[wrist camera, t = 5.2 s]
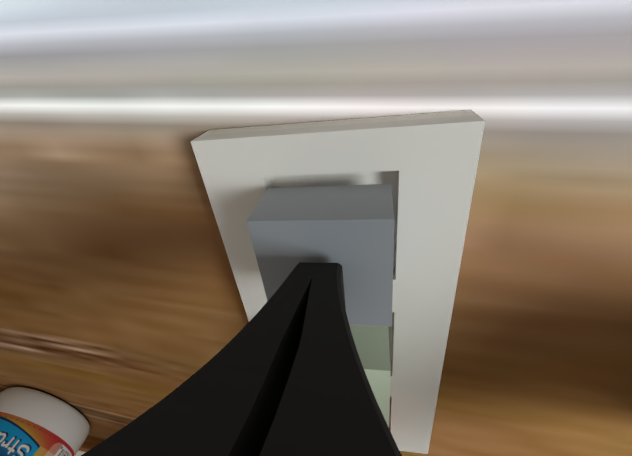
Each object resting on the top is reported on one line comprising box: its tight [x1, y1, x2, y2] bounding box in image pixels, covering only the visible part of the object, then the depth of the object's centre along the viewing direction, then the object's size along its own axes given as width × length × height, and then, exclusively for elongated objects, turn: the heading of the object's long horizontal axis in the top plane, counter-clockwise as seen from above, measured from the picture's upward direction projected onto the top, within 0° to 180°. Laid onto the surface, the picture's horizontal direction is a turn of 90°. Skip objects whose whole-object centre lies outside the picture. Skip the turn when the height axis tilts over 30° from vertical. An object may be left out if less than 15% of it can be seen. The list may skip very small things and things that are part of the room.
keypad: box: [190, 110, 485, 454], centre depth 17 cm, size 22×10×2 cm, turn 6°
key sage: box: [349, 324, 390, 427], centre depth 15 cm, size 4×4×2 cm
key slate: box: [247, 184, 395, 327], centre depth 11 cm, size 4×4×2 cm
